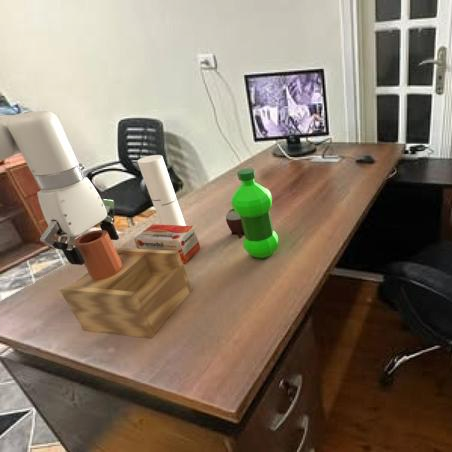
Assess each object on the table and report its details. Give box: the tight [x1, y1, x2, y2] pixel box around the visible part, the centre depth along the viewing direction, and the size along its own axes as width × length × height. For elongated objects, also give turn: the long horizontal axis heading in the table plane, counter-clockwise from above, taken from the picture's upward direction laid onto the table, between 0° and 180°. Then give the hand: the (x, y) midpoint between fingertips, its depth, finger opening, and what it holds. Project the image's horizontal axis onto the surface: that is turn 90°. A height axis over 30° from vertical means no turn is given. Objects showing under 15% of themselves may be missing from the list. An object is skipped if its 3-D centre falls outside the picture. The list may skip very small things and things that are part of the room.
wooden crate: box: [58, 247, 193, 339], centre depth 81 cm, size 18×16×12 cm
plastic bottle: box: [231, 168, 279, 259], centre depth 95 cm, size 10×10×25 cm
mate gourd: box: [225, 208, 244, 239], centre depth 109 cm, size 8×8×15 cm
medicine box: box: [133, 224, 201, 264], centre depth 103 cm, size 15×8×8 cm, turn 77°
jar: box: [74, 229, 123, 280], centre depth 77 cm, size 6×6×9 cm
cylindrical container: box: [136, 154, 187, 226], centre depth 113 cm, size 7×7×25 cm
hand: (96, 250), depth 77 cm, fingers open, 9 cm apart
